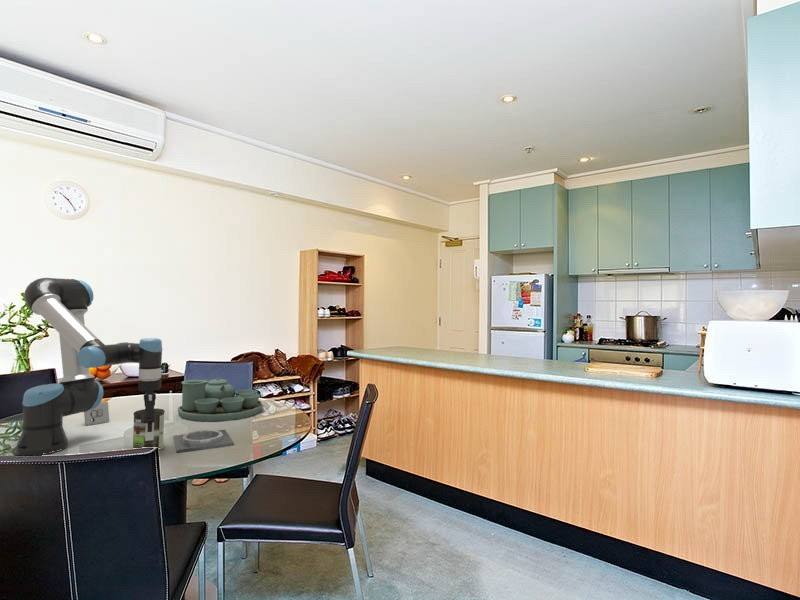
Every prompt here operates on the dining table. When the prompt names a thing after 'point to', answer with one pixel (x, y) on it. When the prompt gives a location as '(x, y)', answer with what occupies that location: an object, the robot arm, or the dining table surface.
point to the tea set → (217, 401)
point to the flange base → (202, 440)
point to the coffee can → (140, 429)
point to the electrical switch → (97, 414)
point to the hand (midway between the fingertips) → (148, 435)
